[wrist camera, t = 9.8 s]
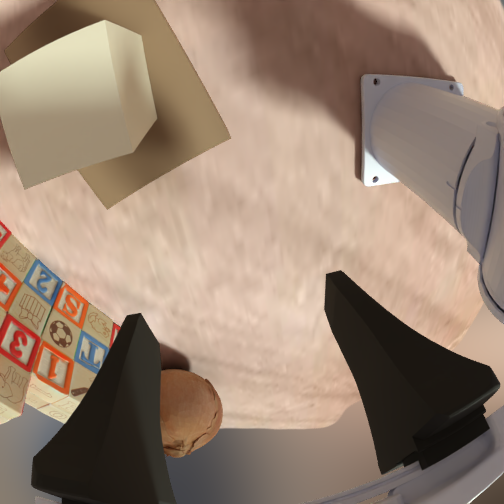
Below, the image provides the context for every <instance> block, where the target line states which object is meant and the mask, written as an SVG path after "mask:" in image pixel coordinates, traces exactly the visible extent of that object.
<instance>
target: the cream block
mask: <svg viewBox="0 0 504 504" xmlns="http://www.w3.org/2000/svg"><path fill="white" fill-rule="evenodd" d="M0 117H1V121H2V125H3V128H4V132H5V135H6V138H7V142H8V145H9V148H10V151H11V154H12V157H13V160H14V163H15V166H16V168H17V171H18V174H19V177H20V179H21V182H22V184H23V187H24V189H28V188H30V187H33V186H35V185H38V184H40V183H43V182H45V181H48V180H50V179H53V178H56V177H58V176H61V175H64V174H67V173H70V172H72V171H75V170H78V169H81V168H84V167H87V166H90V165H93V164H96V163H100V162H103V161H106V160H109V159H113V158H116V157H119V156H123V155H126V154H130V153H133V152H134V151H135V149H136V148H137V146H138V145H139V143H140V142H141V141H142V139H143V138H144V136H145V135H146V133H147V132H148V131H149V129H150V128H151V126H152V125H153V124H154V122H155V121H156V120H157V114H156V109H155V105H154V100H153V95H152V90H151V85H150V80H149V75H148V70H147V64H146V59H145V53H144V48H143V42H142V36H141V35H139V34H137V33H135V32H133V31H130V30H128V29H126V28H123V27H121V26H119V25H116V24H114V23H112V22H109V21H107V20H103V21H100V22H98V23H95V24H92V25H90V26H87V27H85V28H82V29H80V30H78V31H75V32H73V33H71V34H68V35H66V36H64V37H62V38H60V39H58V40H56V41H54V42H51V43H49V44H47V45H46V46H44V47H42V48H40V49H38V50H36V51H34V52H32V53H31V54H29V55H27V56H25V57H23V58H22V59H20V60H18V61H17V62H15V63H13V64H12V65H10V66H8V67H7V68H5V69H4V70H2V71H1V72H0Z"/></svg>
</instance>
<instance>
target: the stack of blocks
mask: <svg viewBox="0 0 504 504" xmlns="http://www.w3.org/2000/svg"><path fill="white" fill-rule="evenodd" d="M120 328H121V327H119V326H118V325H116V324H115V323H113V321H112V320H111V319H110V318H108V317H107V316H106V315H104V314H103V313H102V312H101V311H99V310H98V309H97V308H95V307H94V306H93V305H91V304H89V303H88V302H87V301H86V300H85V299H84V298H83V297H82V296H80V295H79V294H78V293H77V292H76V291H74V290H73V289H72V288H71V287H70V286H68V285H67V284H66V283H65V282H62V280H61V279H60V278H58V277H57V276H56V275H55V274H54V273H53V272H52V271H50V270H49V269H48V268H47V267H46V266H45V265H44V264H43V263H42V262H41V261H40V260H38V259H36V257H35V256H34V255H33V254H32V253H31V252H30V251H29V250H28V249H26V248H25V247H24V246H23V245H22V244H21V243H20V242H19V241H18V240H17V239H16V238H15V237H14V236H13V235H12V233H11V232H10V231H9V230H8V228H7V227H6V226H5V225H4V224H3V223H2V222H1V221H0V424H2V423H5V422H7V421H9V420H10V419H12V418H15V417H18V416H21V415H22V412H23V408H24V403H27V404H28V405H30V406H32V407H34V408H36V409H37V410H39V411H40V412H43V413H44V414H46V415H48V416H50V417H52V418H54V419H56V420H58V421H61V422H63V423H66V421H67V420H68V419H69V417H70V416H71V415H72V413H73V412H74V411H75V409H76V408H77V406H78V405H79V404H80V402H81V401H82V399H83V397H84V396H85V394H86V393H87V391H88V389H89V388H90V386H91V384H92V382H93V381H94V379H95V377H96V375H97V373H98V371H99V370H100V368H101V366H102V364H103V362H104V360H105V358H106V356H107V354H108V352H109V350H110V348H111V346H112V344H113V342H114V340H115V338H116V336H117V334H118V332H119V330H120Z"/></svg>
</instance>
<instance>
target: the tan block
mask: <svg viewBox="0 0 504 504" xmlns="http://www.w3.org/2000/svg"><path fill="white" fill-rule="evenodd" d="M103 20H107V21H109V22H112V23H114V24H116V25H119V26H121V27H123V28H126V29H128V30H130V31H133V32H135V33H137V34H139V35H141V36H142V42H143V48H144V53H145V59H146V64H147V70H148V75H149V80H150V85H151V90H152V95H153V100H154V105H155V109H156V114H157V120H156V121H155V122H154V124H153V125H152V126H151V128H150V129H149V131H148V132H147V133H146V135H145V136H144V138H143V139H142V141H141V142H140V143H139V145H138V146H137V148H136V149H135V151H134V152H133V153H130V154H126V155H123V156H119V157H116V158H113V159H109V160H106V161H103V162H100V163H96V164H93V165H90V166H87V167H84V168H81V169H78V171H79V173H80V174H81V175H82V177H83V178H84V179H85V181H86V182H87V184H88V185H89V186H90V188H91V189H92V190H93V192H94V193H95V194H96V196H97V197H98V198H99V200H100V201H101V202H102V203H103V205H104V206H105V207H106V209H107V210H108V209H109V208H111V207H112V206H114V205H115V204H117V203H118V202H120V201H121V200H123V199H124V198H126V197H128V196H129V195H131V194H132V193H134V192H136V191H137V190H139V189H140V188H142V187H144V186H145V185H147V184H149V183H150V182H152V181H154V180H155V179H157V178H159V177H160V176H162V175H164V174H165V173H167V172H169V171H171V170H172V169H174V168H176V167H178V166H180V165H181V164H183V163H185V162H187V161H189V160H190V159H192V158H194V157H196V156H198V155H200V154H202V153H203V152H205V151H207V150H209V149H211V148H213V147H215V146H217V145H219V144H221V143H223V142H225V141H227V140H229V139H231V137H230V134H229V132H228V130H227V127H226V126H225V124H224V122H223V120H222V118H221V116H220V114H219V112H218V111H217V109H216V107H215V105H214V103H213V101H212V100H211V98H210V96H209V94H208V92H207V90H206V89H205V87H204V85H203V83H202V81H201V79H200V78H199V76H198V74H197V72H196V71H195V69H194V67H193V65H192V63H191V62H190V60H189V58H188V56H187V55H186V53H185V51H184V49H183V48H182V46H181V44H180V42H179V41H178V39H177V37H176V35H175V34H174V32H173V30H172V28H171V27H170V25H169V23H168V22H167V20H166V18H165V17H164V15H163V13H162V11H161V10H160V8H159V6H158V5H157V3H156V1H155V0H58V1H57V2H56V3H55V4H53V5H52V6H51V7H50V8H49V9H47V10H46V11H45V12H44V13H43V14H42V15H40V16H39V17H38V18H37V19H36V20H35V21H34V22H33V23H31V24H30V25H29V26H28V27H27V28H26V29H25V30H24V31H23V32H22V33H21V34H20V35H19V36H18V37H17V38H16V39H15V40H14V41H13V42H12V43H11V44H10V45H9V46H8V47H7V48H6V49H5V50H4V52H5V54H6V56H7V58H8V60H9V62H10V63H11V65H12V64H13V63H15V62H17V61H18V60H20V59H22V58H23V57H25V56H27V55H29V54H31V53H32V52H34V51H36V50H38V49H40V48H42V47H44V46H46V45H47V44H49V43H51V42H54V41H56V40H58V39H60V38H62V37H64V36H66V35H68V34H71V33H73V32H75V31H78V30H80V29H82V28H85V27H87V26H90V25H92V24H95V23H98V22H100V21H103Z"/></svg>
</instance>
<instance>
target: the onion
mask: <svg viewBox="0 0 504 504" xmlns="http://www.w3.org/2000/svg"><path fill="white" fill-rule="evenodd" d="M222 416H223V409H222V404H221V400H220V398H219V396H218V394H217V392H216V390H215V389H214V387H213V386H212V384H211V383H210V382H209V380H207V379H205V380H204V379H203V378H202V377H200V376H198V375H196V374H195V373H192V372H188V371H186V370H183V369H181V368H180V370H177V369H165V370H162V371H161V390H160V425H161V434H162V442H163V448H164V454H167V456H169V455H170V456H172V457H183V456H184V455H185V454H191V452H192V451H194V450H196V449H198V448H200V447H201V446H203V445H205V444H206V443H207V442H209V441H210V440H211V439H212V438H213V437H214V436H215V435H216V434H217V432H218V430H219V428H220V426H221V423H222Z"/></svg>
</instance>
